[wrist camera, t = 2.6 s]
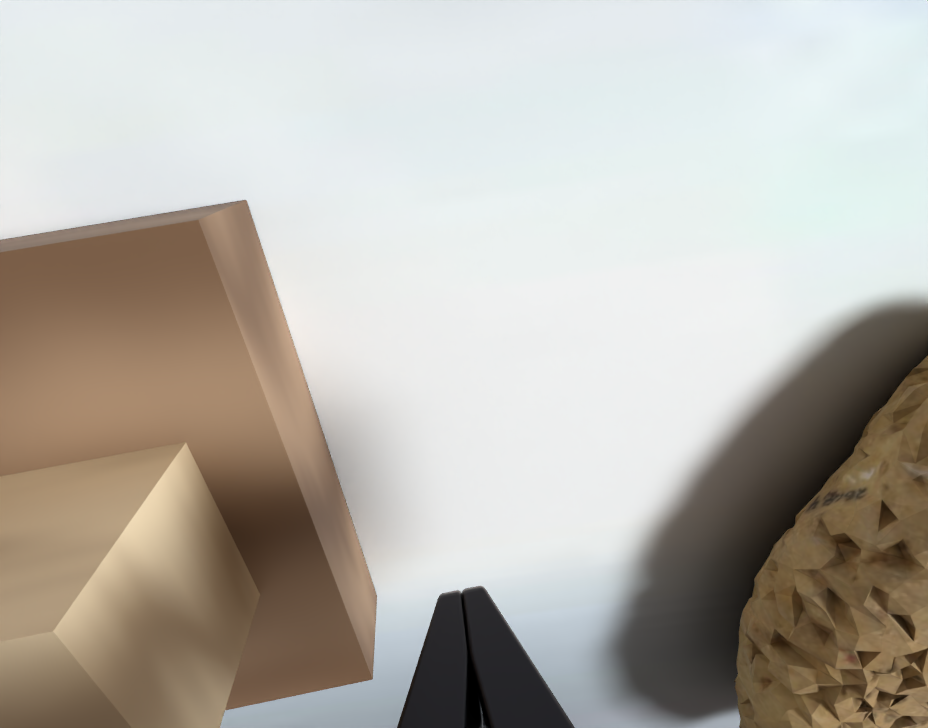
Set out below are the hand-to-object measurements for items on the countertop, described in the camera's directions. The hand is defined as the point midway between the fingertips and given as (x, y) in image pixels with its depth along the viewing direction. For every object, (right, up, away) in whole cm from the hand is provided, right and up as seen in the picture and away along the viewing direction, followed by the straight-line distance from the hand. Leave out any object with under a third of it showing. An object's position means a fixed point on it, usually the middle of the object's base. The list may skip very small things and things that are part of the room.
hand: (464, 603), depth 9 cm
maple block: (-8, 0, +3) cm, 9 cm away
